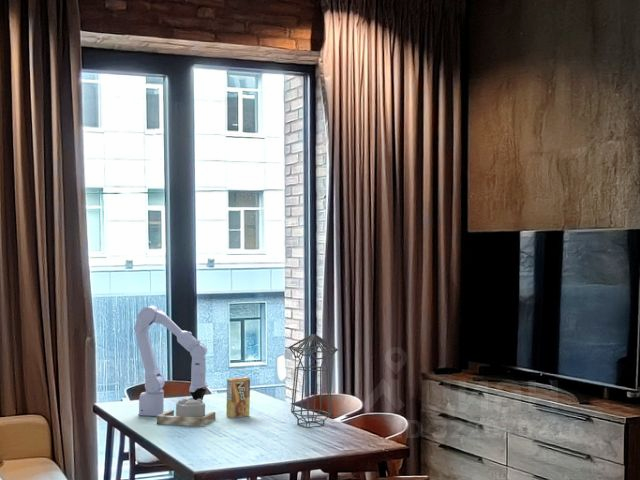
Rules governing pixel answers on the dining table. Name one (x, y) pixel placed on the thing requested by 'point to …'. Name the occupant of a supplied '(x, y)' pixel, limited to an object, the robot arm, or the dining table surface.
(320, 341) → the geometric lantern
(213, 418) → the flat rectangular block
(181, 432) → the dining table surface
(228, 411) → the candy box
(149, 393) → the robot arm
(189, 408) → the lumpy-topped squat cylinder
